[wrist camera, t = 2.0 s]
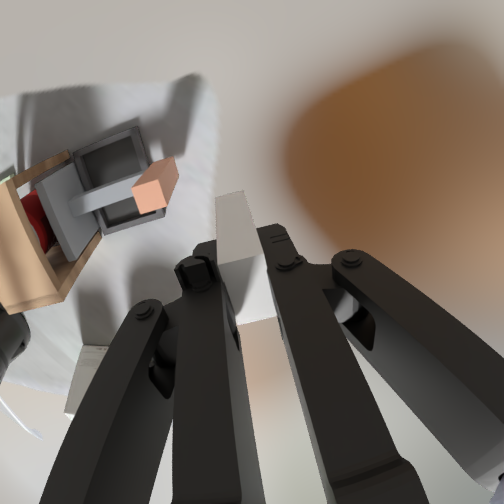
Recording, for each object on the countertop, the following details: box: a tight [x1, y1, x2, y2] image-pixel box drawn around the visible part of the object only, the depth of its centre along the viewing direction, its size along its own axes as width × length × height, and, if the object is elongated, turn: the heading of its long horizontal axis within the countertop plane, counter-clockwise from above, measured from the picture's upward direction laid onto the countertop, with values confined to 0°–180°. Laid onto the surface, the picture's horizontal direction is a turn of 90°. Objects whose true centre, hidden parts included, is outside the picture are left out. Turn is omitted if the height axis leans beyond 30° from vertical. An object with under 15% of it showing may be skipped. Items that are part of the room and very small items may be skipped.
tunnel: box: [0, 150, 102, 315], centre depth 27 cm, size 10×13×14 cm
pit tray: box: [73, 126, 166, 236], centre depth 33 cm, size 9×12×1 cm
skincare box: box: [64, 345, 109, 421], centre depth 42 cm, size 8×7×16 cm
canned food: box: [20, 189, 57, 255], centre depth 29 cm, size 8×8×11 cm
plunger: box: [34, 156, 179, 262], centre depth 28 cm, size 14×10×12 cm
